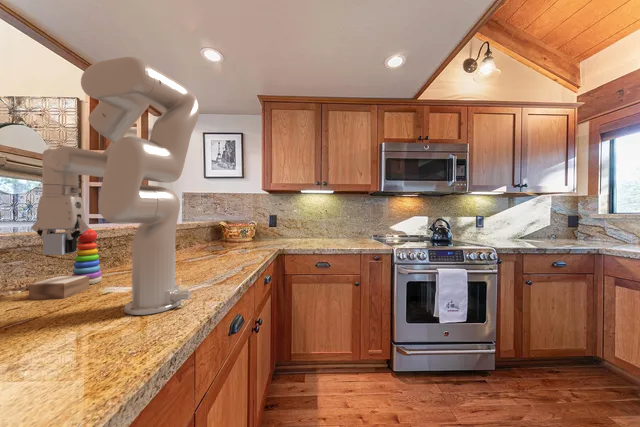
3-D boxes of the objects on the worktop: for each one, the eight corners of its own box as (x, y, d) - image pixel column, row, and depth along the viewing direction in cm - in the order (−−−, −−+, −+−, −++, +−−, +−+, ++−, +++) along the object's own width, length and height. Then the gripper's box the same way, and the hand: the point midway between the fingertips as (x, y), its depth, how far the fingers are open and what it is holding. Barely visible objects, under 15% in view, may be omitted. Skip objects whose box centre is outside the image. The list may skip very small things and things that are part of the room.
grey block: (76, 251, 79) (76, 232, 79) (62, 254, 74) (62, 234, 74) (58, 251, 78) (58, 232, 78) (42, 254, 73) (43, 234, 73)
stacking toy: (63, 286, 84) (63, 229, 83) (89, 279, 91) (89, 228, 91) (83, 287, 82) (83, 230, 82) (108, 280, 90) (108, 228, 90)
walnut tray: (89, 288, 81) (89, 275, 81) (64, 298, 72) (64, 283, 72) (58, 289, 80) (58, 276, 80) (28, 299, 71) (28, 284, 71)
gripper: (101, 193, 80) (100, 250, 81) (41, 192, 79) (41, 250, 79) (81, 191, 73) (81, 254, 73) (15, 190, 71) (15, 254, 71)
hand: (60, 251), depth 76 cm, fingers closed on grey block, 5 cm apart
